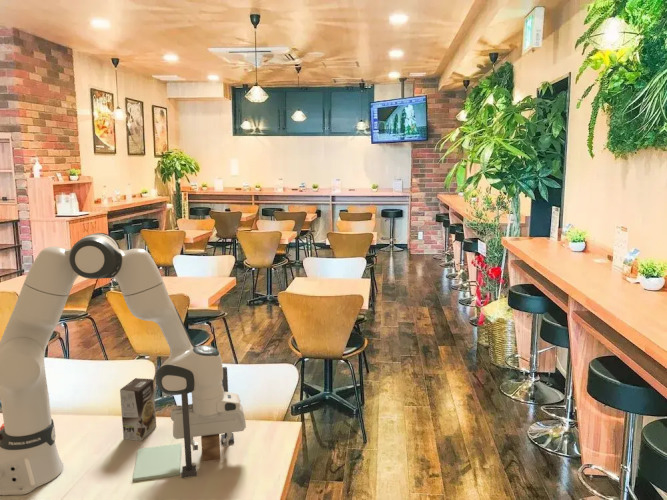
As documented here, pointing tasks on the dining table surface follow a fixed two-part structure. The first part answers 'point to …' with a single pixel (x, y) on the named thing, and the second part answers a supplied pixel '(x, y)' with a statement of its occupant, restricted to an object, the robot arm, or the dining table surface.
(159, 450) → the board
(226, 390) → the post
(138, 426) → the coffee box
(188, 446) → the front cord post
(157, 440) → the dining table surface
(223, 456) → the dining table surface
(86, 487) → the dining table surface
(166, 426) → the dining table surface
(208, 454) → the walnut block
